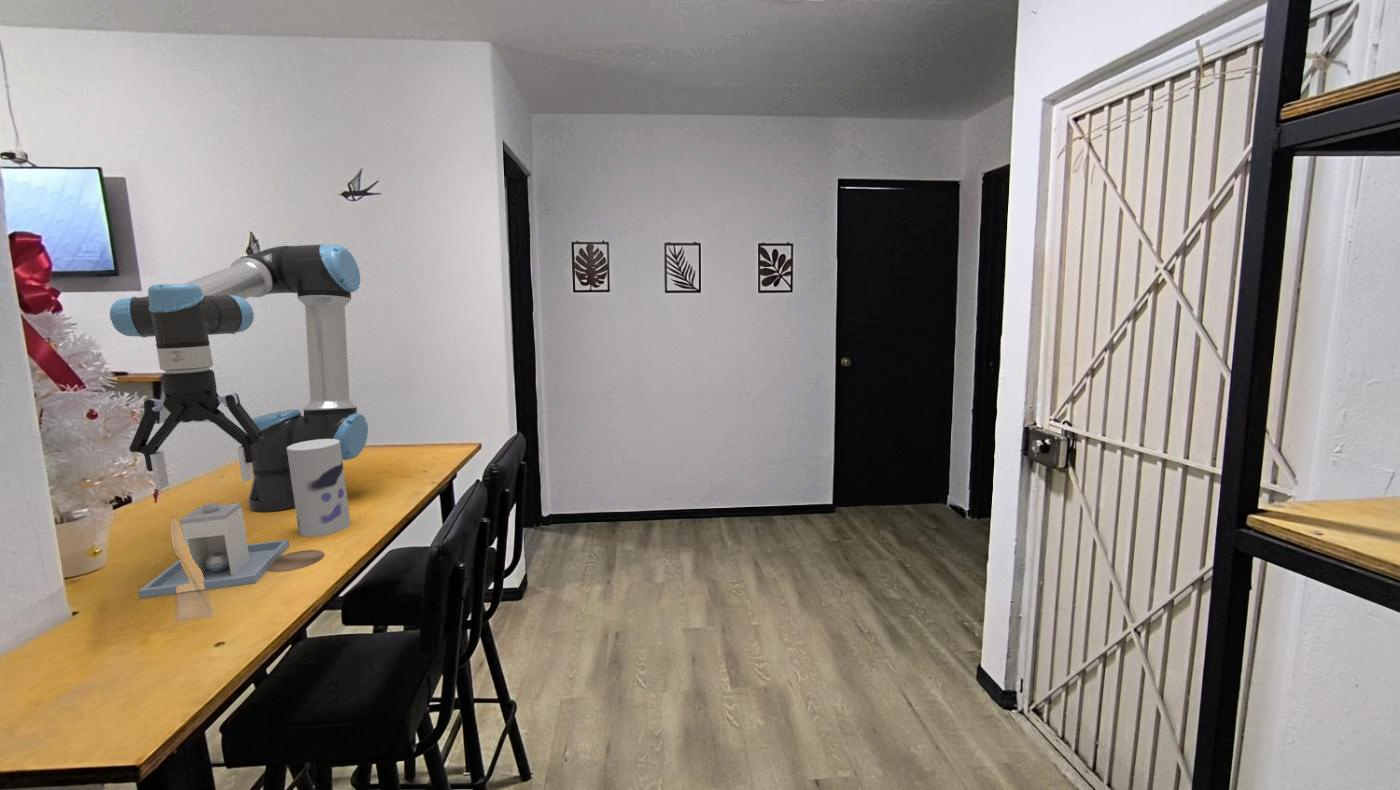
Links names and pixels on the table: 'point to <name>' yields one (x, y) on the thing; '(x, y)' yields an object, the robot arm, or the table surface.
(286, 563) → the coaster
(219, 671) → the table surface
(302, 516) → the container
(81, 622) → the table surface
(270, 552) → the tray
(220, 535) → the open-front grey box
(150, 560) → the table surface
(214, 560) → the ball
